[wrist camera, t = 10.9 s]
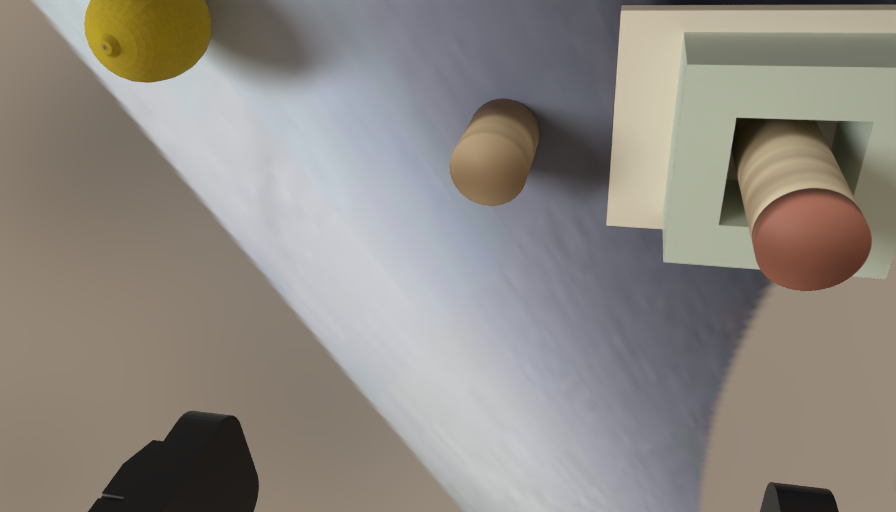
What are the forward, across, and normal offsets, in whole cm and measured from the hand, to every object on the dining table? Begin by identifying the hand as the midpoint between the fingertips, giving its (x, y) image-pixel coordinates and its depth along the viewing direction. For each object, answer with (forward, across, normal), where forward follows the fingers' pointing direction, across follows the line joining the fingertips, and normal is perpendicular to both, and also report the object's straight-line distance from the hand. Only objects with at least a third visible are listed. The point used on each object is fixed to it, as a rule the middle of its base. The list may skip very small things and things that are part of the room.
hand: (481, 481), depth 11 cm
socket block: (+30, -10, +7) cm, 32 cm away
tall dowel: (+29, -9, +7) cm, 31 cm away
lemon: (+31, +22, +1) cm, 38 cm away
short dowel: (+30, +4, +8) cm, 32 cm away
